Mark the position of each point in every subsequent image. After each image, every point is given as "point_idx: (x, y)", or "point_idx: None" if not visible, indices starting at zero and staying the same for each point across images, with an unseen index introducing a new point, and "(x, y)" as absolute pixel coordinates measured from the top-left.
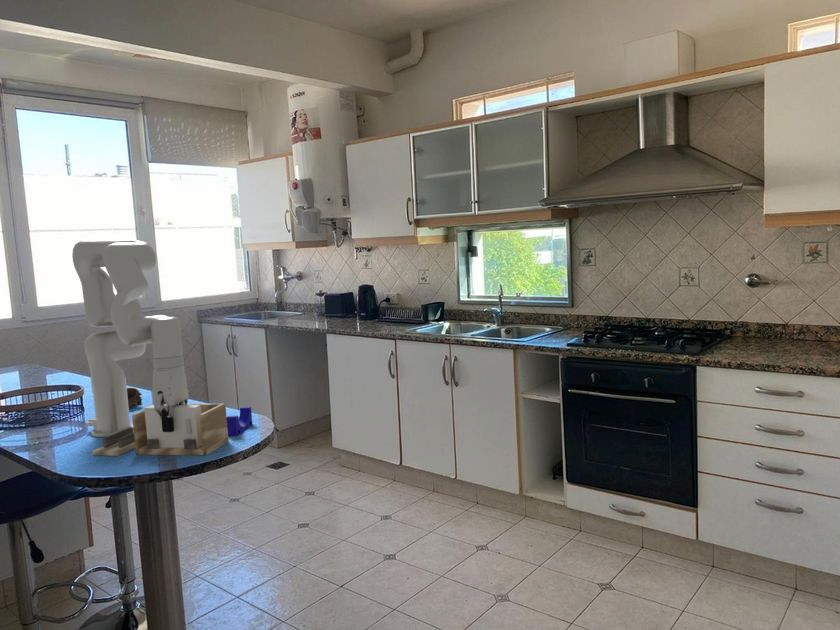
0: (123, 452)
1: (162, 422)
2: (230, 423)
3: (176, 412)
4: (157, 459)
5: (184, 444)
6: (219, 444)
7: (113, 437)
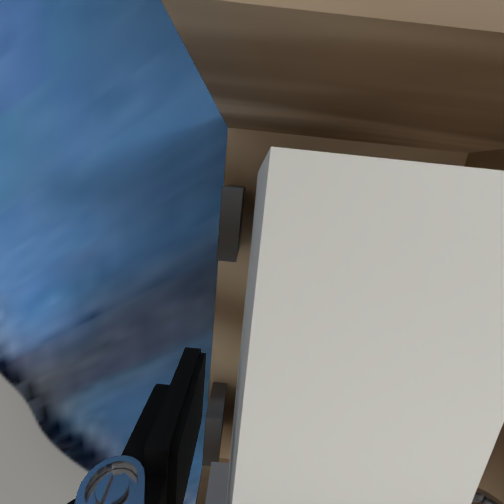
0: None
1: (165, 406)
2: None
3: None
4: (154, 274)
5: (209, 401)
6: None
7: None
